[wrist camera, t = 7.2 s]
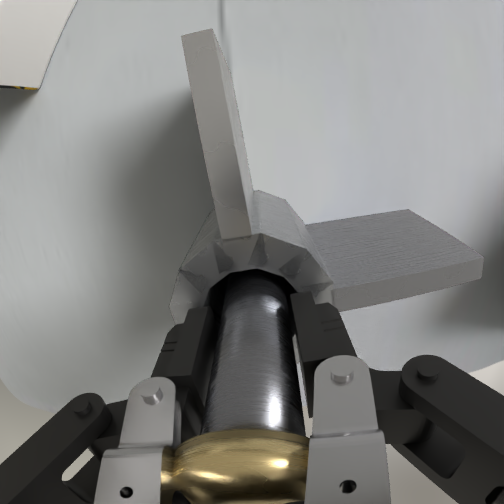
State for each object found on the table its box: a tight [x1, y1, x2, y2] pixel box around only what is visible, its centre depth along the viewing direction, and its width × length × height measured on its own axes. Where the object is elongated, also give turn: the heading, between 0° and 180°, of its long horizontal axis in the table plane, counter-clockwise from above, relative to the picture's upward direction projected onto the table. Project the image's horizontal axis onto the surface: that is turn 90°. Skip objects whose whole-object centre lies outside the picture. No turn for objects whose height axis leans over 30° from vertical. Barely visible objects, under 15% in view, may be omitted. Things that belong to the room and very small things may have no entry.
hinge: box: [169, 29, 484, 364], centre depth 14 cm, size 13×13×8 cm
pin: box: [172, 268, 310, 504], centre depth 11 cm, size 3×3×13 cm
